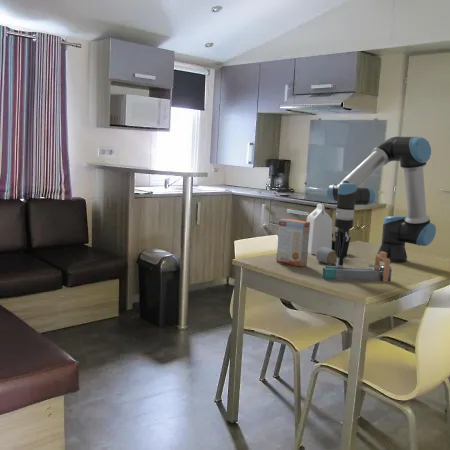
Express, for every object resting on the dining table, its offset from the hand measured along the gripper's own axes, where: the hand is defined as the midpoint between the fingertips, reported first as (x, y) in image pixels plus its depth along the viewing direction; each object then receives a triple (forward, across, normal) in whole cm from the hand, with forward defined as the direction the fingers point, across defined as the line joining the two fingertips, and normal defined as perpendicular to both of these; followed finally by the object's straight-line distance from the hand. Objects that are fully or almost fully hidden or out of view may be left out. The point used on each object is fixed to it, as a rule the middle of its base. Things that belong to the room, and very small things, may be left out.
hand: (339, 271), depth 227 cm
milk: (+2, -52, +6) cm, 52 cm away
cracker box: (+2, -22, -16) cm, 27 cm away
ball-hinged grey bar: (+2, +6, +6) cm, 9 cm away
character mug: (+2, -55, +17) cm, 57 cm away
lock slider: (+1, +5, +17) cm, 18 cm away
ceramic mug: (+2, -25, +4) cm, 26 cm away
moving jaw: (+2, +5, +7) cm, 8 cm away
